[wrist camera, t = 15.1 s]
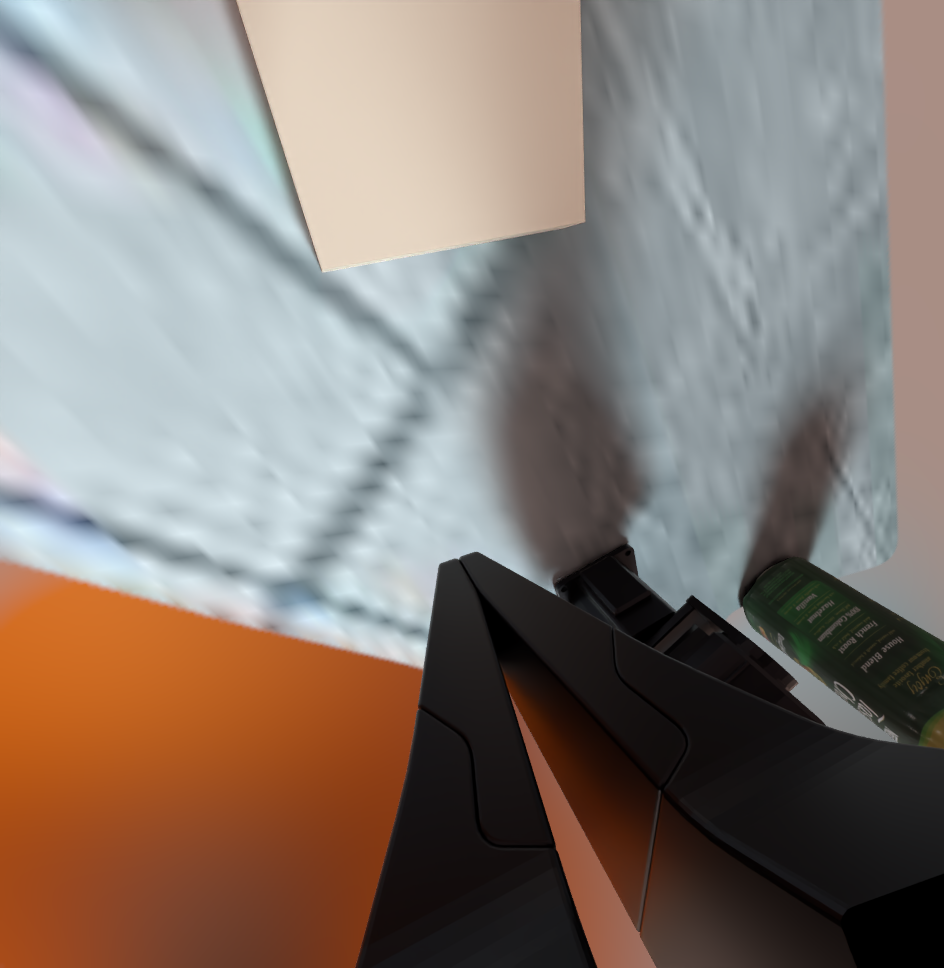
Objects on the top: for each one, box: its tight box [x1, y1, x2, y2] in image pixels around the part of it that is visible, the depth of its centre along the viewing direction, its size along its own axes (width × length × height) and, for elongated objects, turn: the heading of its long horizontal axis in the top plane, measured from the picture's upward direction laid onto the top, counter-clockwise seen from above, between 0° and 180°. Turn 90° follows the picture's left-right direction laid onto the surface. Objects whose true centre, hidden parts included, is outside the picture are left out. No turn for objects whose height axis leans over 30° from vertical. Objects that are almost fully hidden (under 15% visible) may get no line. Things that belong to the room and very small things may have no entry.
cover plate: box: [236, 0, 585, 273], centre depth 13 cm, size 12×2×11 cm
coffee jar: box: [743, 557, 944, 749], centre depth 31 cm, size 10×8×19 cm
